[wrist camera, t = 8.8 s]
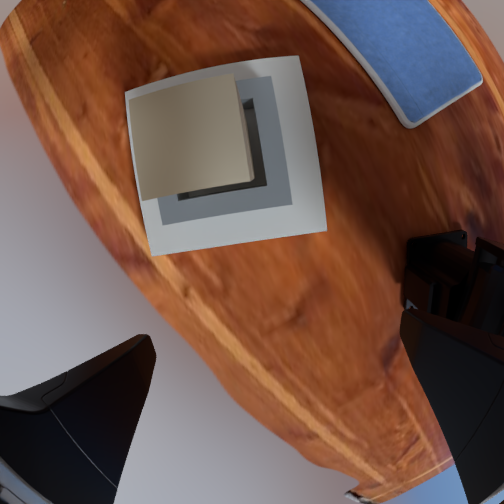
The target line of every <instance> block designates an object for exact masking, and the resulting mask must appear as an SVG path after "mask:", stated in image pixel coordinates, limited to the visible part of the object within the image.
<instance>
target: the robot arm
mask: <svg viewBox="0 0 504 504" xmlns="http://www.w3.org/2000/svg"><path fill="white" fill-rule="evenodd" d="M462 235H463V237H462ZM413 242H414V243H415V244H414V246H413V247H412V243H413ZM475 245H476V249H475V252H474V251H472V250H470V249H468V248H467V232H466V231H464V230H458V231H451V232H445V233H439V234H433V235H426V236H420V237H414V238H410V239H409V240H408V242H407V265H406V267H405V281H404V296H405V303H404V311H403V312H402V317H401V324H400V337H401V339H402V342H403V344H404V347H405V349H406V352H407V355H408V357H409V360H410V363H411V365H412V368H413V370H414V372H415V374H416V376H417V378H418V380H419V382H420V384H421V386H422V388H423V390H424V392H425V394H426V396H427V398H428V400H429V403H430V405H431V407H432V409H433V411H434V413H435V416H436V418H437V420H438V422H439V425H440V427H441V429H442V432H443V434H444V436H445V439H446V441H447V444H448V446H449V449H450V451H451V454H452V456H453V459H454V461H455V465H456V468H457V470H458V473H459V476H460V479H461V482H462V485H463V488H464V491H465V494H466V497H467V500H468V504H483V503H485V502H486V501H488V500H489V499H491V498H492V497H494V496H495V495H497V494H498V493H500V492H501V491H502V490H504V244H502V243H499V242H495V241H492V240H488V239H485V238H481V237H477V238H476V243H475ZM410 306H411V308H410V309H409V307H410ZM155 362H156V352H155V349H154V346H153V343H152V340H151V338H150V336H149V335H147V334H138V335H136V336H134V337H132V338H130V339H129V340H127V341H125V342H123V343H121V344H119V345H117V346H115V347H113V348H112V349H109V350H107V351H106V352H104V353H102V354H100V355H98V356H96V357H94V358H92V359H90V360H88V361H86V362H84V363H82V364H80V365H78V366H76V367H74V368H72V369H70V370H69V371H68V372H64V373H62V374H60V375H58V376H56V377H54V378H52V379H50V380H47V381H45V382H43V383H41V384H38V385H36V386H33V387H31V388H28V389H26V390H23V391H21V392H18V393H16V394H13V395H9V396H0V504H113V503H114V500H115V496H116V492H117V488H118V484H119V481H120V478H121V474H122V471H123V468H124V465H125V461H126V458H127V455H128V452H129V448H130V445H131V442H132V439H133V436H134V433H135V430H136V427H137V424H138V421H139V418H140V415H141V412H142V409H143V406H144V404H145V400H146V398H147V394H148V392H149V387H150V384H151V379H152V374H153V370H154V366H155ZM499 504H504V500H503V501H502V502H501V503H499Z"/></svg>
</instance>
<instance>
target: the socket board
mask: <svg viewBox="0 0 504 504" xmlns="http://www.w3.org/2000/svg"><path fill="white" fill-rule="evenodd" d="M232 73H234V77H235V81H236V84H237V88H238V91H239V95H240V98H241V102H242V106H243V109H244V113H245V117H246V121H247V126H248V132H249V138H250V145H251V151H252V158H253V165H254V171H255V178H254V179H253V180H251V181H249V182H242V183H236V184H230V185H223V186H217V187H212V188H206V189H200V190H195V191H189V192H184V193H179V194H174V195H169V196H164V197H159V198H154V199H150V200H145V201H142V199H141V193H140V187H139V181H138V175H137V169H136V162H135V155H134V147H133V139H132V131H131V122H130V111H129V100H130V99H133V98H136V97H139V96H142V95H145V94H148V93H151V92H155V91H158V90H161V89H165V88H169V87H172V86H176V85H180V84H184V83H188V82H192V81H197V80H201V79H206V78H211V77H216V76H221V75H227V74H232ZM125 100H126V111H127V120H128V129H129V137H130V145H131V152H132V159H133V165H134V172H135V178H136V183H137V189H138V194H139V200H140V205H141V210H142V215H143V220H144V224H145V229H146V233H147V238H148V242H149V246H150V250H151V254H152V256H158V255H165V254H171V253H178V252H184V251H191V250H198V249H204V248H211V247H218V246H224V245H231V244H238V243H245V242H251V241H258V240H265V239H272V238H279V237H286V236H293V235H300V234H307V233H315V232H322V231H327V224H326V214H325V205H324V197H323V188H322V181H321V173H320V166H319V159H318V153H317V146H316V140H315V134H314V128H313V123H312V117H311V112H310V106H309V101H308V96H307V91H306V87H305V82H304V77H303V73H302V68H301V64H300V60H299V56H285V57H274V58H264V59H256V60H249V61H242V62H236V63H230V64H225V65H219V66H214V67H209V68H205V69H200V70H196V71H192V72H188V73H184V74H180V75H176V76H173V77H169V78H166V79H162V80H159V81H156V82H153V83H149V84H146V85H143V86H140V87H138V88H135V89H132V90H129V91H126V92H125Z"/></svg>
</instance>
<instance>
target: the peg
mask: <svg viewBox="0 0 504 504" xmlns="http://www.w3.org/2000/svg"><path fill="white" fill-rule="evenodd" d="M129 111H130V122H131V131H132V139H133V147H134V155H135V162H136V169H137V175H138V181H139V187H140V193H141V199H142V201H145V200H150V199H154V198H159V197H164V196H169V195H174V194H179V193H184V192H189V191H195V190H200V189H206V188H212V187H217V186H223V185H230V184H236V183H242V182H249V181H251V180H253V179H254V178H255V171H254V165H253V158H252V151H251V145H250V138H249V132H248V126H247V121H246V117H245V113H244V109H243V106H242V102H241V98H240V95H239V91H238V88H237V84H236V81H235V77H234V73H232V74H227V75H221V76H216V77H211V78H206V79H201V80H197V81H192V82H188V83H184V84H180V85H176V86H172V87H169V88H165V89H161V90H158V91H155V92H151V93H148V94H145V95H142V96H139V97H136V98H133V99H130V100H129Z"/></svg>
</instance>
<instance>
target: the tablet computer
mask: <svg viewBox="0 0 504 504" xmlns="http://www.w3.org/2000/svg"><path fill="white" fill-rule="evenodd" d="M300 1H302V2H303V3H304V4H305V5H306V6H307V7H308V8H309V9H310V10H311V11H312V12H313V13H315V14H316V15H317V16H318V17H319V18H320V19H321V20H322V21H323V22H324V23H325V24H326V25H327V26H328V28H329V29H330V30H331V31H332V32H333V33H334V34H335V35H336V36H337V37H338V38H339V40H340V41H341V42H342V43H343V44H344V45H345V46H346V48H347V49H348V50H349V51H350V52H351V53H352V55H353V56H354V57H355V58H356V59H357V61H358V62H359V63H360V64H361V65H362V67H363V68H364V69H365V71H366V72H367V73H368V75H369V76H370V77H371V79H372V80H373V81H374V83H375V84H376V85H377V87H378V88H379V90H380V91H381V93H382V94H383V95H384V97H385V98H386V100H387V101H388V103H389V104H390V106H391V108H392V109H393V111H394V112H395V114H396V116H397V117H398V119H399V121H400V122H401V123H402V125H403V126H405V127H406V128H410V129H412V128H415V127H417V126H418V125H420V124H421V123H423V122H424V121H426V120H427V119H429V118H430V117H432V116H433V115H435V114H436V113H438V112H439V111H441V110H442V109H444V108H445V107H447V106H448V105H450V104H451V103H453V102H455V101H456V100H458V99H459V98H461V97H462V96H464V95H465V94H467V93H468V92H470V91H472V90H473V89H475V88H476V87H478V86H480V85H481V84H482V82H483V79H482V75H481V73H480V71H479V70H478V68H477V66H476V65H475V63H474V61H473V60H472V58H471V57H470V55H469V54H468V52H467V51H466V49H465V48H464V46H463V45H462V43H461V42H460V40H459V39H458V38H457V36H456V35H455V33H454V32H453V31H452V29H451V28H450V27H449V25H448V24H447V23H446V22H445V20H444V19H443V18H442V17H441V15H440V14H439V13H438V12H437V11H436V9H435V8H434V7H433V6H432V5H431V4H430V2H429V1H428V0H300Z"/></svg>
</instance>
